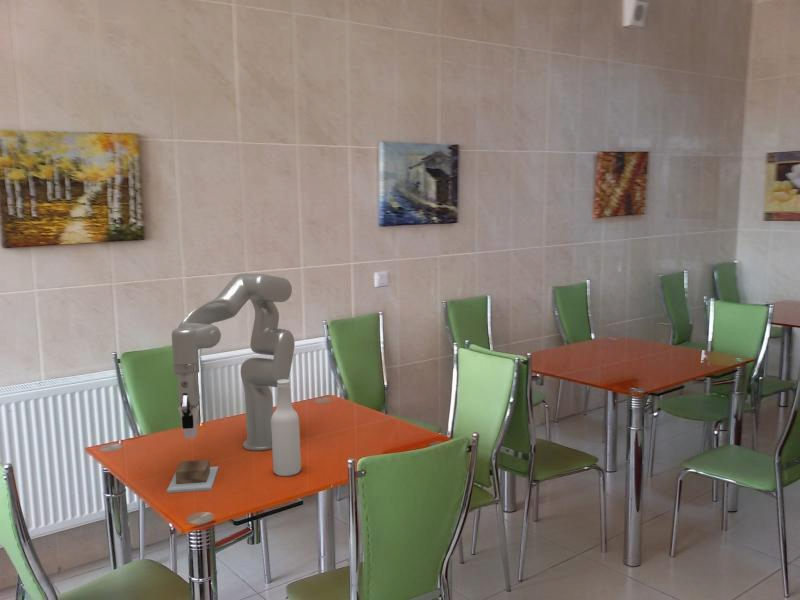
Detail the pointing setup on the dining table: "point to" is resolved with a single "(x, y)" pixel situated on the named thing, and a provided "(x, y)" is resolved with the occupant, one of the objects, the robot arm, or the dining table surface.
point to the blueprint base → (209, 482)
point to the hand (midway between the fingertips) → (189, 424)
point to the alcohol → (285, 433)
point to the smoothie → (193, 431)
